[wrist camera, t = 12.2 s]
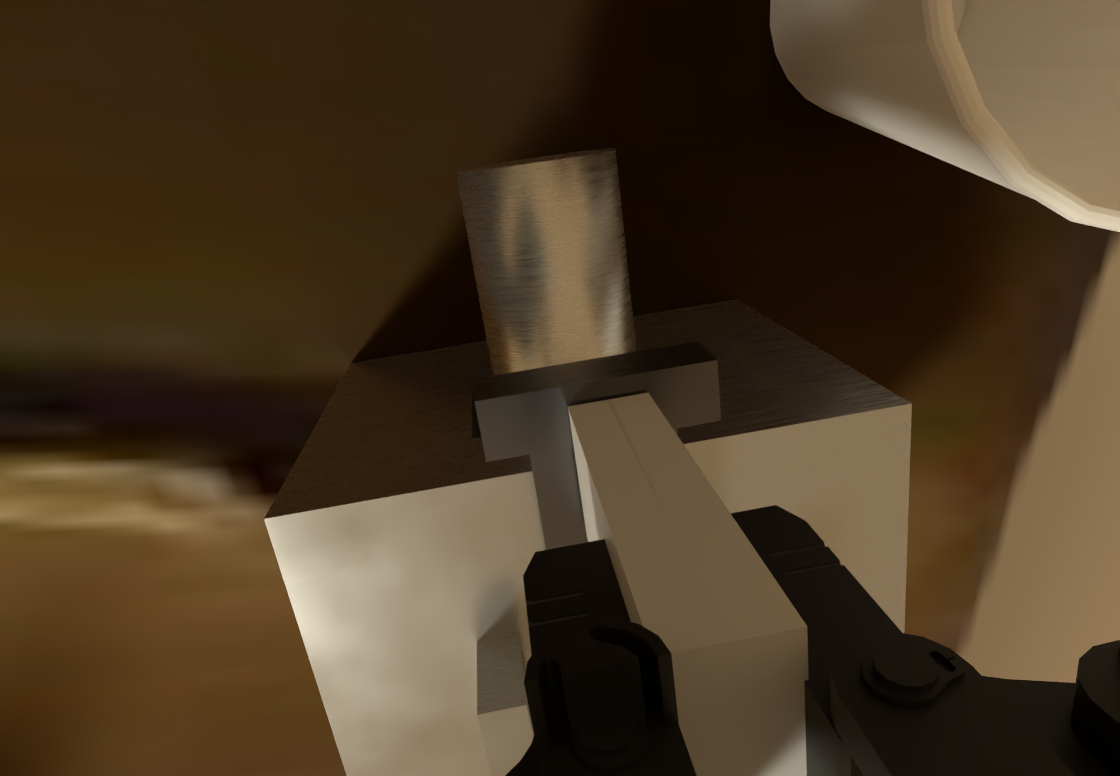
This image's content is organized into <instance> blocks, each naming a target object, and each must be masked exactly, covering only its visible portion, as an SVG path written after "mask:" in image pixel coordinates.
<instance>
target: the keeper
mask: <svg viewBox="0 0 1120 776" xmlns="http://www.w3.org/2000/svg"><path fill="white" fill-rule="evenodd" d="M643 393H649V394H650V396H651V397H652V399H653V400H654V402H655V403H656V405H657V406H658V408H659V409H660V411H661V412H662V413H663V415H664V416H665V418H666V419H667V421H668V422H669V424H670V425H671V427H672V428H673V430H674V431H675V433H676V434H677V436H678V432H677V428H682V427H688V426H693V425H699V424H705V423H710V422H716V421H721V412H720V395H719V379H718V362H717V359H716V358H715V357H714V356H713V355H712V354H711V353H710V352H708V351H707V350H706V349H705V348H704V347H703V346H702V345H701V344H700V343H699V342H698V341H695V342H689V343H683V344H677V345H671V346H666V347H660V348H654V349H648V350H642V351H636V352H630V353H624V354H618V355H612V356H606V357H601V358H595V359H589V360H583V361H577V362H571V363H565V364H559V365H553V366H547V367H541V368H536V369H530V370H524V371H518V372H512V373H506V374H500V375H494V376H488V377H482V378H476V379H474V402H475V407H476V412H477V417H478V422H479V427H480V433H481V438H482V443H483V448H484V453H485V458H486V462H490V461H495V460H501V459H507V458H512V457H518V456H524V455H530V461H531V467H532V472H533V478H534V484H535V490H536V496H537V502H538V508H539V514H540V520H541V525H542V531H543V537H544V543H545V549H546V550H548V549H554V548H559V547H565V546H570V545H575V544H581V543H586V542H588V539H587V534H586V527H585V520H584V514H583V507H582V500H581V493H580V486H579V480H578V473H577V466H576V459H575V452H574V446H573V439H572V432H571V425H570V418H569V412H568V406H574V405H580V404H586V403H591V402H597V401H603V400H609V399H615V398H620V397H626V396H632V395H638V394H643Z"/></svg>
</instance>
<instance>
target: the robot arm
mask: <svg viewBox="0 0 1120 776" xmlns="http://www.w3.org/2000/svg"><path fill="white" fill-rule="evenodd" d="M568 412H569V418H570V425H571V432H572V439H573V446H574V452H575V459H576V466H577V473H578V480H579V486H580V493H581V500H582V507H583V514H584V520H585V527H586V534H587V539H588V542H586V543H581V544H575V545H570V546H565V547H559V548H554V549H548V550H543V551H537V552H535V553H534V555H533V557H532V559H531V561H530V563H529V565H528V567H527V569H526V571H525V573H524V575H523V581H524V590H525V599H526V608H527V618H528V625H529V636H530V646H531V655H532V656H531V657H530V658H529V660H528V661H527V667H526V673H525V678H524V686H525V691H526V696H527V701H528V706H529V711H530V716H531V721H532V726H533V731H534V737H533V740H532V743H531V745H530V747H529V748H528V750H527V751H526V753H525V754H524V756H523V757H522V759H521V760H520V762H519V763H518V764H517V765H515V766H514V767H513V768H512V769H511V770H510V771H509V772H508V773H507V774H506V775H505V776H1120V640H1118V641H1114V642H1110V643H1105V644H1101V645H1097V646H1093V647H1092V648H1091V649H1090V650H1089V651H1087V652H1086V653H1085V654H1084V655H1083V656H1082V657H1081V658H1080V659H1079V664H1078V671H1077V678H1076V683H1064V682H1063V683H1062V682H1047V681H1029V680H1011V679H1010V680H1009V679H1001V678H994V677H986V676H981V675H980V674H979V673H978V672H977V671H976V670H975V668H974V667H973V666H972V665H970V664H969V663H968V662H967V661H965V660H964V659H963V658H961V657H960V656H959V655H958V654H956V653H955V652H954V651H952V650H951V649H950V648H948V647H945V646H943V645H941V644H938V643H936V642H934V641H931V640H929V639H927V638H924V637H921V636H916V635H910V634H905V633H902V632H901V630H900V629H899V628H898V627H897V626H896V625H895V624H894V622H893V621H892V620H891V619H890V618H889V617H888V615H887V614H886V613H885V612H884V611H883V610H882V608H881V607H880V606H879V605H878V604H877V603H876V602H875V600H874V599H873V598H872V597H871V596H870V595H869V593H868V592H867V591H866V590H865V589H864V588H863V586H862V585H861V584H860V583H859V582H858V581H857V580H856V578H855V577H854V576H853V575H852V574H851V573H850V571H849V570H848V569H847V568H846V567H845V566H844V565H841V563H840V560H839V559H838V558H837V556H836V555H835V554H834V553H833V552H832V551H831V549H830V548H829V547H825V544H824V541H823V540H822V539H821V538H820V537H819V536H818V534H817V533H816V532H815V531H814V530H813V529H812V527H811V526H810V525H809V524H808V523H807V522H806V521H805V520H803V519H802V518H800V517H798V516H796V515H794V514H792V513H790V512H788V511H786V510H784V509H783V508H781V507H779V506H777V505H773V506H768V507H762V508H757V509H751V510H746V511H741V512H735V513H730V512H729V511H728V509H727V508H726V506H725V505H724V503H723V502H722V500H721V499H720V497H719V496H718V494H717V493H716V491H715V490H714V489H713V487H712V486H711V484H710V483H709V481H708V480H707V478H706V477H705V475H704V474H703V472H702V471H701V469H700V468H699V466H698V465H697V464H696V462H695V461H694V459H693V458H692V456H691V455H690V453H689V452H688V450H687V449H686V447H685V446H684V444H683V443H682V441H681V440H680V439H679V437H678V436H677V434H676V433H675V431H674V430H673V428H672V427H671V425H670V424H669V422H668V421H667V419H666V418H665V416H664V415H663V413H662V412H661V411H660V409H659V408H658V406H657V405H656V403H655V402H654V400H653V399H652V397H651V396H650V394H649V393H643V394H638V395H632V396H626V397H620V398H615V399H609V400H603V401H597V402H591V403H586V404H580V405H574V406H568Z"/></svg>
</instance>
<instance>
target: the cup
mask: <svg viewBox="0 0 1120 776" xmlns="http://www.w3.org/2000/svg"><path fill="white" fill-rule="evenodd" d="M770 30H771V35H772V40H773V45H774V49H775V54H776V56H777V59H778V61H779V63H780V65H781V67H782V69H783V71H784V73H785V75H786V77H787V79H788V80H789V81H790V82H791V83H792V85H793V86H794V87H795V88H796V89H797V90H798V91H799V92H800V93H801V95H802V96H803V97H804V98H805V99H807V100H809V101H810V102H812V103H814V104H815V105H817V106H819V107H820V108H822V109H824V110H825V111H827V112H830V113H832V114H834V115H837V116H839V117H842V118H844V119H846V120H849V121H851V122H853V123H856V124H858V125H860V126H863V127H865V128H867V129H870V130H872V131H874V132H877V133H879V134H882V135H884V136H886V137H889V138H891V139H893V140H896V141H898V142H900V143H903V144H905V145H907V146H910V147H912V148H915V149H917V150H919V151H922V152H924V153H926V154H929V155H931V156H933V157H936V158H938V159H940V160H943V161H945V162H947V163H950V164H952V165H955V166H957V167H959V168H962V169H964V170H966V171H969V172H971V173H973V174H976V175H978V176H980V177H983V178H985V179H988V180H990V181H992V182H995V183H997V184H999V185H1002V186H1004V187H1006V188H1009V189H1011V190H1013V191H1016V192H1018V193H1020V194H1023V195H1025V196H1028V197H1030V198H1032V199H1035V200H1036V201H1038V202H1040V203H1041V204H1043V205H1045V206H1046V207H1048V208H1050V209H1051V210H1053V211H1054V212H1056V213H1058V214H1059V215H1061V216H1063V217H1064V218H1066V219H1068V220H1069V221H1072V222H1076V223H1081V224H1085V225H1090V226H1095V227H1099V228H1104V229H1108V230H1113V231H1117V232H1120V0H770Z"/></svg>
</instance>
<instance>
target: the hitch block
mask: <svg viewBox="0 0 1120 776" xmlns="http://www.w3.org/2000/svg"><path fill="white" fill-rule="evenodd" d="M633 319H634V329H635V338H636V347H637V351H642V350H648V349H654V348H660V347H666V346H671V345H677V344H683V343H689V342H695V341H698V342H699V343H700V344H701V345H702V346H703V347H704V348H705V349H706V350H707V351H708V352H710V353H711V354H712V355H713V356H714V357H715V358H716V359H717V362H718V379H719V395H720V412H721V421H716V422H710V423H705V424H699V425H693V426H688V427H682V428H677V432H678V437H679V439H680V440H681V441H682V443H683V444H684V446H685V447H686V449H687V450H688V452H689V453H690V455H691V456H692V458H693V459H694V461H695V462H696V464H697V465H698V466H699V468H700V469H701V471H702V472H703V474H704V475H705V477H706V478H707V480H708V481H709V483H710V484H711V486H712V487H713V489H714V490H715V491H716V493H717V494H718V496H719V497H720V499H721V500H722V502H723V503H724V505H725V506H726V508H727V509H728V511H729V512H730V513H735V512H741V511H746V510H751V509H757V508H762V507H768V506H773V505H777V506H779V507H781V508H783V509H784V510H786V511H788V512H790V513H792V514H794V515H796V516H798V517H800V518H802V519H803V520H805V521H806V522H807V523H808V524H809V525H810V526H811V527H812V529H813V530H814V531H815V532H816V533H817V534H818V536H819V537H820V538H821V539H822V540H823V541H824V544H825V547H829V548H830V549H831V551H832V552H833V553H834V554H835V555H836V556H837V558H838V559H839V560H840V563H841V565H844V566H845V567H846V568H847V569H848V570H849V571H850V573H851V574H852V575H853V576H854V577H855V578H856V580H857V581H858V582H859V583H860V584H861V585H862V586H863V588H864V589H865V590H866V591H867V592H868V593H869V595H870V596H871V597H872V598H873V599H874V600H875V602H876V603H877V604H878V605H879V606H880V607H881V608H882V610H883V611H884V612H885V613H886V614H887V615H888V617H889V618H890V619H891V620H892V621H893V622H894V624H895V625H896V626H897V627H898V628H899V629H900V630H901V632H902V633H904V627H905V596H906V566H907V535H908V504H909V473H910V442H911V411H912V403H910V402H908V401H907V400H905V399H903V398H902V397H900V396H898V395H897V394H895V393H893V392H892V391H890V390H888V389H886V388H885V387H883V386H881V385H880V384H878V383H876V382H875V381H873V380H871V379H870V378H868V377H866V376H865V375H863V374H861V373H860V372H858V371H856V370H855V369H853V368H851V367H850V366H848V365H846V364H845V363H843V362H841V361H839V360H838V359H836V358H834V357H833V356H831V355H829V354H828V353H826V352H824V351H823V350H821V349H819V348H818V347H816V346H814V345H813V344H811V343H809V342H808V341H806V340H804V339H803V338H801V337H799V336H798V335H796V334H794V333H793V332H791V331H789V330H787V329H786V328H784V327H782V326H781V325H779V324H777V323H776V322H774V321H772V320H771V319H769V318H767V317H766V316H764V315H762V314H761V313H759V312H757V311H756V310H754V309H752V308H751V307H749V306H747V305H746V304H744V303H742V302H741V301H739V300H737V299H734V300H728V301H722V302H716V303H710V304H704V305H698V306H691V307H685V308H679V309H673V310H667V311H661V312H655V313H649V314H643V315H637V316H633ZM488 376H493V373H492V368H491V362H490V357H489V351H488V346H487V341H481V342H475V343H469V344H463V345H457V346H451V347H444V348H438V349H432V350H426V351H420V352H414V353H408V354H402V355H396V356H390V357H384V358H378V359H372V360H366V361H360V362H354V363H350V365H349V367H348V369H347V371H346V372H345V374H344V376H343V378H342V380H341V381H340V383H339V385H338V387H337V389H336V390H335V392H334V394H333V396H332V398H331V399H330V401H329V403H328V405H327V407H326V408H325V410H324V412H323V414H322V416H321V417H320V419H319V421H318V423H317V425H316V426H315V428H314V430H313V432H312V434H311V435H310V437H309V439H308V441H307V443H306V444H305V446H304V448H303V450H302V452H301V454H300V455H299V457H298V459H297V461H296V463H295V464H294V466H293V468H292V470H291V472H290V473H289V475H288V477H287V479H286V481H285V482H284V484H283V486H282V488H281V490H280V491H279V493H278V495H277V497H276V499H275V500H274V502H273V504H272V506H271V508H270V509H269V511H268V513H267V515H266V517H265V518H264V520H265V523H266V526H267V529H268V532H269V536H270V539H271V542H272V545H273V548H274V551H275V554H276V557H277V560H278V564H279V567H280V570H281V573H282V576H283V579H284V582H285V585H286V588H287V592H288V595H289V598H290V601H291V604H292V607H293V610H294V613H295V616H296V619H297V623H298V626H299V629H300V632H301V635H302V638H303V641H304V644H305V647H306V651H307V654H308V657H309V660H310V663H311V666H312V669H313V672H314V675H315V678H316V682H317V685H318V688H319V691H320V694H321V697H322V700H323V703H324V706H325V710H326V713H327V716H328V719H329V722H330V725H331V728H332V731H333V734H334V738H335V741H336V744H337V747H338V750H339V753H340V756H341V759H342V762H343V765H344V769H345V772H346V775H347V776H505V775H506V774H507V773H508V772H509V771H510V770H511V769H512V768H513V767H514V766H515V765H517V764H518V763H519V762H520V760H521V759H522V757H523V756H524V754H525V753H526V751H527V750H528V748H529V747H530V745H531V743H532V740H533V737H534V731H533V726H532V721H531V716H530V711H529V706H528V701H527V696H526V691H525V686H524V678H525V673H526V667H527V661H528V660H529V658H530V657H531V656H532V655H531V646H530V636H529V625H528V618H527V608H526V599H525V590H524V581H523V575H524V573H525V571H526V569H527V567H528V565H529V563H530V561H531V559H532V557H533V555H534V553H535V552H537V551H543V550H546V549H545V543H544V537H543V531H542V525H541V520H540V514H539V508H538V502H537V496H536V490H535V484H534V478H533V472H532V467H531V461H530V455H524V456H518V457H512V458H507V459H501V460H495V461H490V462H486V458H485V453H484V448H483V443H482V438H481V433H480V427H479V422H478V417H477V412H476V407H475V402H474V379H476V378H482V377H488Z"/></svg>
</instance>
